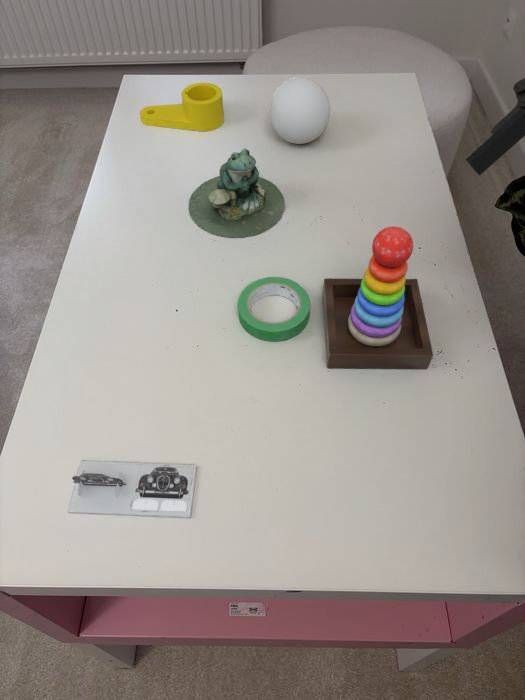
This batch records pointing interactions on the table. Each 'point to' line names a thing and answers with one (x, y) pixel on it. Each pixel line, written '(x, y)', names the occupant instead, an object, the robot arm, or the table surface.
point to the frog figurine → (237, 200)
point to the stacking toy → (382, 289)
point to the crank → (189, 110)
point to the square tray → (352, 354)
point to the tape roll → (274, 329)
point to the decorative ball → (299, 110)
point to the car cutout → (133, 489)
